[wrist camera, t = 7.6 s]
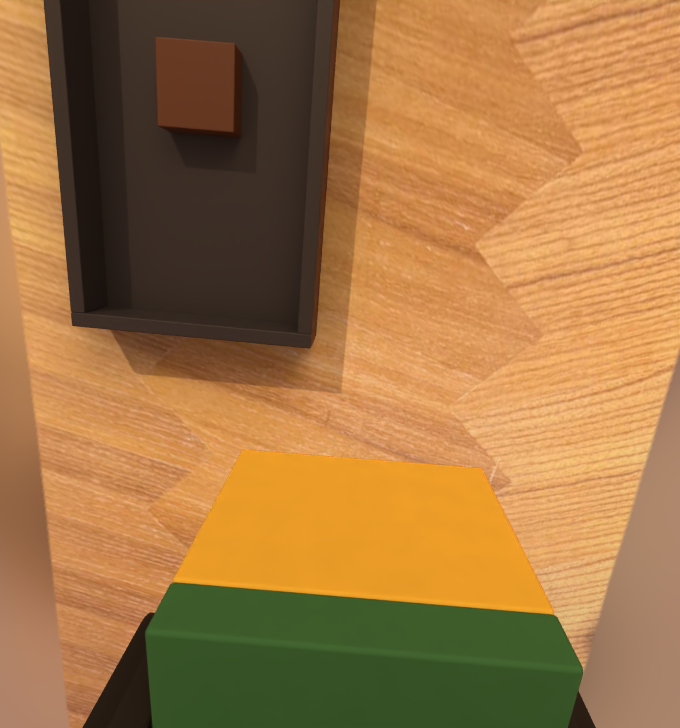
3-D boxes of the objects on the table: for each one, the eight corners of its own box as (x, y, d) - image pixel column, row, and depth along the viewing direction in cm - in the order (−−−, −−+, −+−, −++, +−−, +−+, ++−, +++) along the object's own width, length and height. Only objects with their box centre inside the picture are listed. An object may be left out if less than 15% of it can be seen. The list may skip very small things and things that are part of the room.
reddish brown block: (166, 47, 24) (154, 36, 22) (242, 53, 24) (235, 42, 22) (168, 132, 25) (157, 126, 23) (241, 138, 25) (233, 132, 23)
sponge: (242, 447, 9) (142, 631, 5) (482, 466, 9) (586, 670, 5) (241, 697, 11) (170, 979, 7) (440, 715, 11) (488, 1013, 7)
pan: (65, -223, 21) (16, -296, 18) (354, -202, 21) (353, -273, 18) (101, 315, 29) (71, 326, 26) (316, 336, 28) (310, 348, 25)
